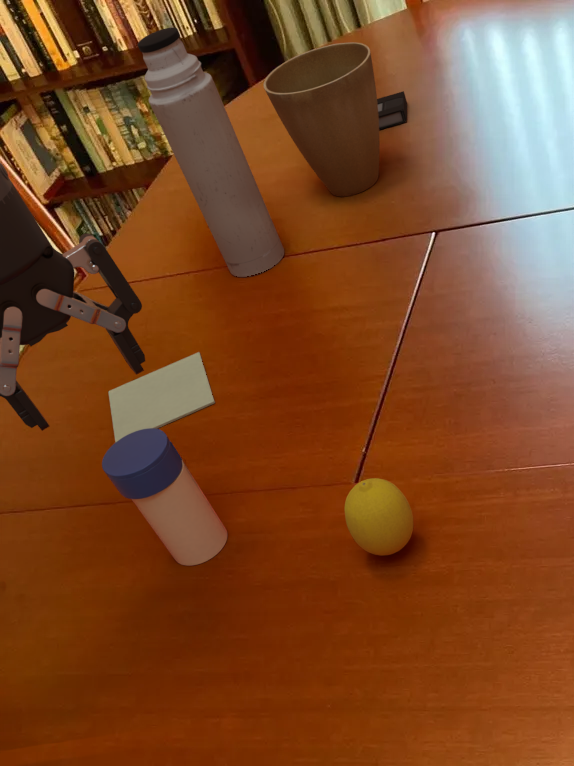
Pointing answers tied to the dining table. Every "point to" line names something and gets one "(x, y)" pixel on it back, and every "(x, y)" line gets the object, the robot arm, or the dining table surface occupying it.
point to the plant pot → (331, 113)
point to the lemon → (378, 516)
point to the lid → (142, 463)
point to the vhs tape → (392, 110)
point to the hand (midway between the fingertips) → (90, 397)
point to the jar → (184, 520)
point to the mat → (160, 397)
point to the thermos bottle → (209, 154)
